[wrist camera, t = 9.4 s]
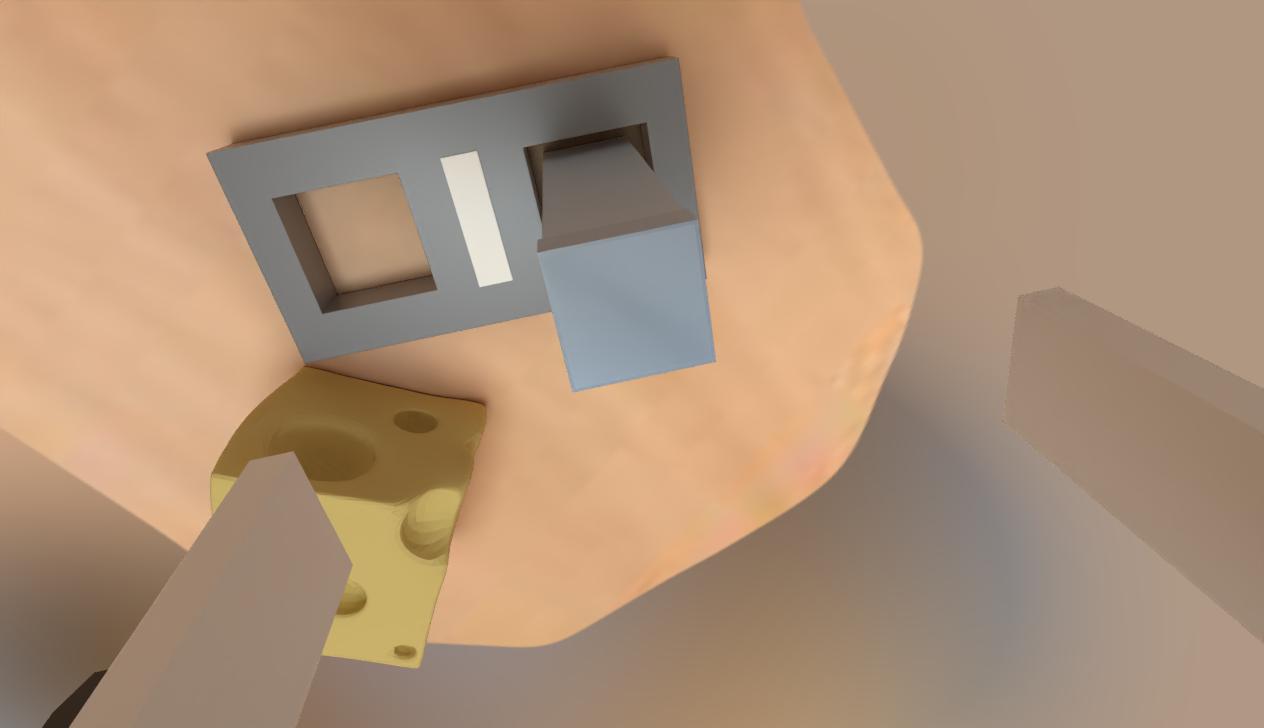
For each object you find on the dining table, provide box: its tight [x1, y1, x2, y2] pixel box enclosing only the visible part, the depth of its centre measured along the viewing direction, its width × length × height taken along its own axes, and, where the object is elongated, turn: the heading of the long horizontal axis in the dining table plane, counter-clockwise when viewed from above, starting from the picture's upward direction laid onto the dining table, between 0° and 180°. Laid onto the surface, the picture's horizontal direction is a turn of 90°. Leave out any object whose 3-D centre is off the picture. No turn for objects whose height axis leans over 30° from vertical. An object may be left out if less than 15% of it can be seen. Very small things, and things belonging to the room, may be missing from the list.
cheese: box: [210, 367, 486, 668], centre depth 33 cm, size 10×11×10 cm
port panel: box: [206, 56, 707, 363], centre depth 30 cm, size 10×20×3 cm, turn 100°
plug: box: [537, 136, 716, 392], centre depth 25 cm, size 4×4×16 cm
